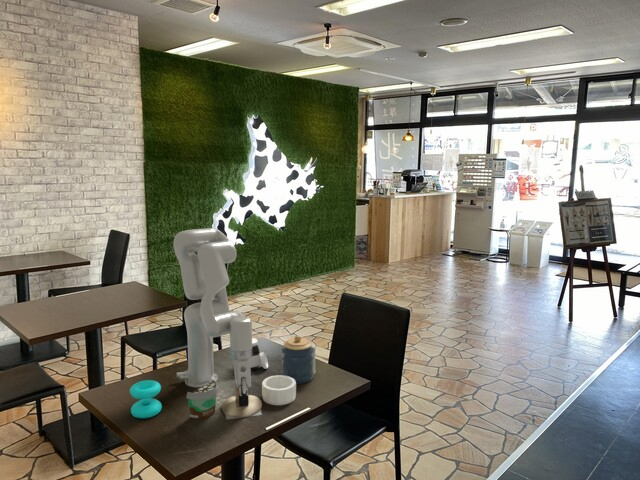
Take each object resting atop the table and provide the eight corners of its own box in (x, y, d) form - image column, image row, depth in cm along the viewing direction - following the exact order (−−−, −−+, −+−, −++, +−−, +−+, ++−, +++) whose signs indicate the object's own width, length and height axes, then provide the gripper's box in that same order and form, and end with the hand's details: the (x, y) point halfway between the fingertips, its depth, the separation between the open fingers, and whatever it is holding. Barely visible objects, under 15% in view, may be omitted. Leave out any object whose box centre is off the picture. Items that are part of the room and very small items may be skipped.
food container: (200, 426, 157) (199, 397, 155) (187, 420, 160) (186, 392, 158) (226, 410, 167) (225, 383, 165) (213, 405, 170) (212, 378, 169)
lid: (223, 419, 160) (222, 400, 159) (220, 399, 173) (219, 381, 172) (264, 414, 164) (264, 395, 163) (258, 395, 177) (258, 377, 176)
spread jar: (237, 364, 205) (236, 338, 203) (262, 359, 210) (262, 334, 208) (246, 375, 194) (245, 348, 193) (272, 370, 200) (272, 343, 198)
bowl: (265, 407, 169) (265, 391, 168) (260, 392, 180) (260, 377, 179) (298, 403, 172) (298, 388, 171) (291, 388, 183) (291, 373, 182)
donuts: (164, 386, 162) (134, 394, 156) (165, 414, 164) (135, 423, 158) (155, 376, 170) (126, 383, 164) (156, 402, 172) (127, 410, 166)
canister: (310, 385, 186) (310, 342, 183) (277, 382, 188) (277, 340, 185) (316, 371, 198) (316, 331, 196) (285, 369, 201) (285, 328, 198)
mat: (226, 420, 160) (226, 419, 160) (223, 400, 174) (223, 399, 173) (262, 415, 163) (262, 414, 163) (256, 396, 177) (256, 395, 177)
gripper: (255, 361, 158) (256, 409, 161) (249, 342, 174) (249, 387, 177) (232, 363, 156) (233, 412, 159) (228, 344, 172) (229, 389, 175)
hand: (242, 399), depth 168 cm, fingers open, 9 cm apart
